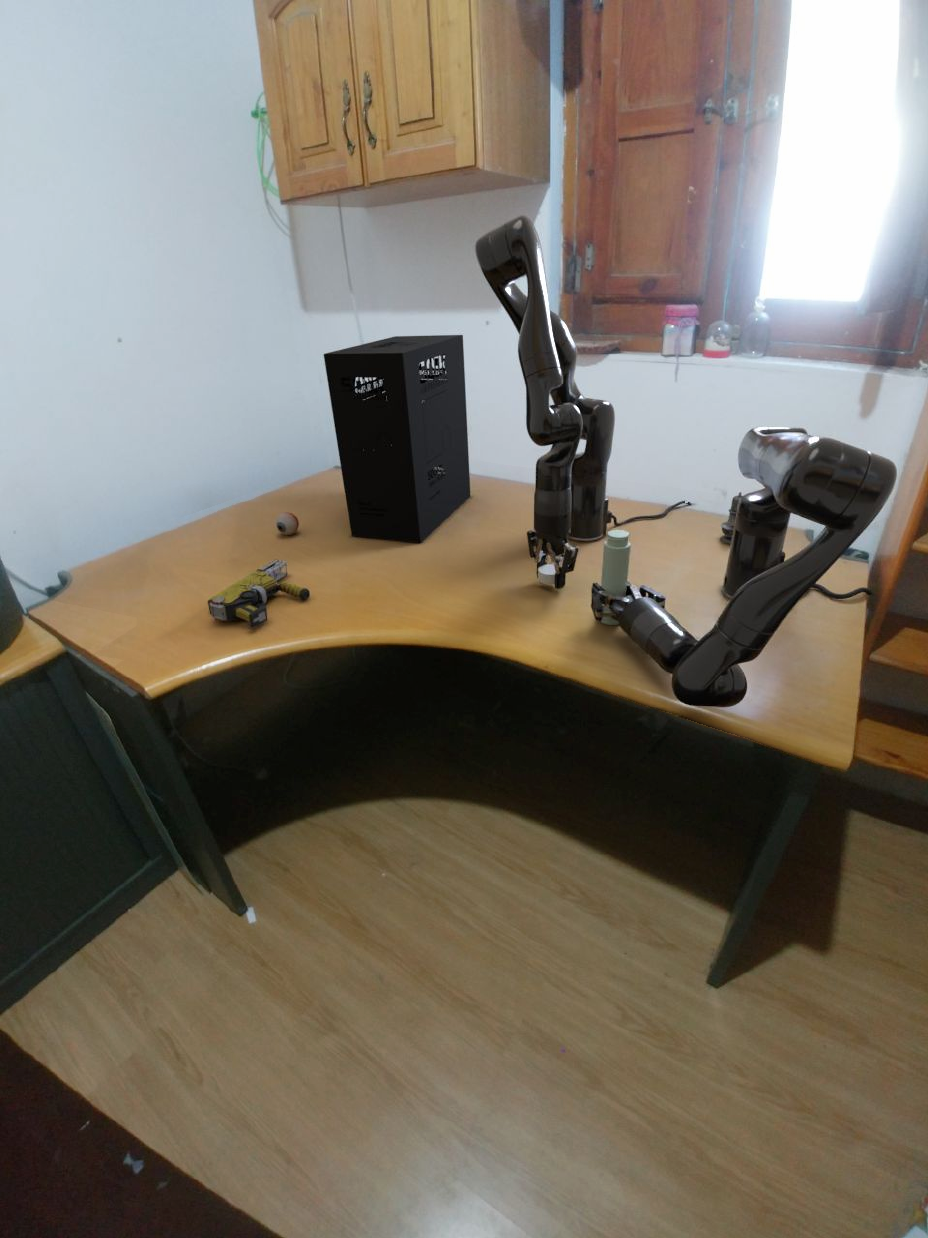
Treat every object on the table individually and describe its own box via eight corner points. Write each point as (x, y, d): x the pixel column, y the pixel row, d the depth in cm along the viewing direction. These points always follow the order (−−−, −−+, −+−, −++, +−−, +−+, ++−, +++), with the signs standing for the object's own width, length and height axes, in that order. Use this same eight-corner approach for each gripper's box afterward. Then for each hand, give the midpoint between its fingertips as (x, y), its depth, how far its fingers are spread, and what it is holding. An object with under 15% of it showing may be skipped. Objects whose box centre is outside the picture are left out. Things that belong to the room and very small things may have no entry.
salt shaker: (746, 544, 143) (756, 496, 137) (720, 544, 145) (729, 495, 139) (742, 535, 148) (751, 488, 142) (716, 534, 150) (724, 487, 144)
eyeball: (273, 537, 164) (268, 516, 161) (287, 528, 169) (282, 508, 166) (291, 539, 161) (286, 518, 158) (305, 530, 166) (301, 510, 163)
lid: (547, 571, 133) (548, 562, 132) (567, 577, 129) (567, 568, 128) (532, 579, 130) (533, 570, 128) (552, 586, 126) (552, 576, 125)
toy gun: (329, 568, 137) (273, 556, 141) (266, 615, 117) (202, 599, 121) (331, 586, 139) (275, 574, 143) (268, 635, 119) (205, 620, 123)
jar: (608, 627, 115) (615, 540, 106) (594, 616, 118) (599, 531, 109) (628, 621, 116) (637, 534, 107) (613, 610, 120) (620, 526, 111)
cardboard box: (410, 491, 192) (395, 336, 169) (470, 495, 185) (462, 334, 162) (351, 535, 161) (323, 353, 139) (420, 542, 155) (402, 352, 132)
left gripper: (516, 502, 125) (516, 576, 134) (562, 521, 115) (559, 600, 123) (544, 495, 129) (542, 567, 137) (591, 512, 118) (586, 589, 127)
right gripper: (692, 601, 102) (642, 561, 116) (614, 615, 99) (573, 573, 113) (686, 639, 105) (638, 596, 120) (611, 653, 103) (571, 607, 117)
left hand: (550, 582), depth 130 cm, fingers closed on lid, 5 cm apart
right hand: (607, 585), depth 116 cm, fingers closed on jar, 4 cm apart
